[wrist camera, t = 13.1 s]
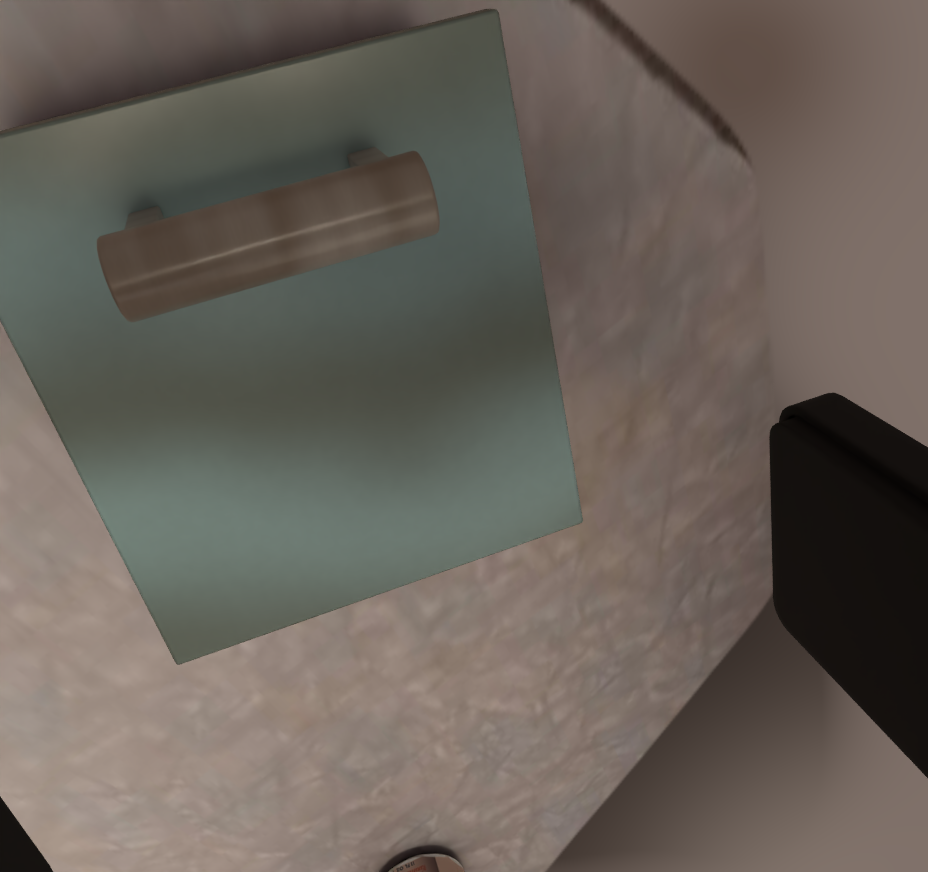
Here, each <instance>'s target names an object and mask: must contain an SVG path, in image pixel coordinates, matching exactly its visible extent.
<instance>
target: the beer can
mask: <svg viewBox="0 0 928 872" xmlns="http://www.w3.org/2000/svg"><path fill="white" fill-rule="evenodd" d="M388 872H464V869H463V867H462V865H461V864H460V863H459V862H458V861H457V860H456V859H454V858H452V857H450V856H448V855H444V854H437V853H436V854H421V855H417V856H413V857H410V858H408V859H406V860H404V861H402V862H401V863H399V864H398V865H396V866H394V867H393V868H392V869H390V870H389V871H388Z"/></svg>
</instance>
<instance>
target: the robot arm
mask: <svg viewBox="0 0 928 872" xmlns="http://www.w3.org/2000/svg"><path fill="white" fill-rule="evenodd" d="M770 480H771V523H772V566H773V599H774V606H775V609H776V612H777V614H778V617H779V619H780V620H781V622H782V624H783V625H784V627H785V628H786V629H787V630H788V631H789V632H790V633H791V635H792V636H793V637H794V638H795V639H796V640H797V641H798V642H799V643H800V644H801V645H802V646H803V647H804V648H805V649H806V650H807V651H808V653H809V654H810V655H811V656H812V657H813V658H814V659H815V660H816V661H817V662H818V663H819V664H820V665H821V666H822V667H823V668H824V669H825V670H826V671H827V672H828V674H829V675H830V676H831V677H832V678H833V679H834V680H835V681H836V682H837V683H838V684H839V685H840V686H841V687H842V688H843V689H844V690H845V691H846V692H847V694H848V695H849V696H850V697H851V698H852V699H853V700H854V701H855V702H856V703H857V704H858V705H859V706H860V707H861V708H862V709H863V710H864V711H865V713H866V714H867V715H868V716H869V717H870V718H871V719H872V720H873V721H874V722H875V723H876V724H877V725H878V726H879V727H880V728H881V729H882V730H883V731H884V733H886V734H887V736H888V737H890V739H891V740H892V741H893V742H894V743H895V744H896V745H897V746H898V747H899V748H900V749H901V750H902V752H904V754H905V755H906V756H907V757H908V758H909V759H910V760H911V761H912V762H913V763H914V764H915V765H916V766H917V767H918V768H919V769H920V770H921V771H922V773H923V774H924V775H925V776H926V777H927V778H928V447H926V446H924V445H923V444H921V443H920V442H918V441H916V440H915V439H913V438H911V437H910V436H908V435H906V434H905V433H903V432H901V431H900V430H898V429H896V428H895V427H893V426H891V425H890V424H888V423H886V422H885V421H883V420H881V419H880V418H878V417H876V416H875V415H873V414H871V413H870V412H868V411H866V410H865V409H863V408H861V407H860V406H858V405H856V404H855V403H853V402H852V401H850V400H848V399H847V398H845V397H843V396H841V395H839V394H836V393H827V394H824V395H821V396H818V397H815V398H812V399H809V400H806V401H803V402H800V403H797V404H794V405H791V406H788V407H787V408H785V409H784V410H783V411H782V413H781V416H780V419H779V423H777V424H775V425H773V426H772V428H771V430H770ZM0 872H53V871H52V869H51V867H50V865H49V864H48V862H47V861H46V860H45V858H44V857H43V855H42V854H41V853H40V851H39V850H38V849H37V847H36V846H35V844H34V843H33V842H32V840H31V839H30V837H29V836H28V835H27V833H26V832H25V830H24V829H23V828H22V826H21V825H20V823H19V822H18V821H17V819H16V818H15V816H14V815H13V814H12V812H11V811H10V809H9V808H8V807H7V805H6V804H5V802H4V801H3V800H2V798H1V797H0Z"/></svg>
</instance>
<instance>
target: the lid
mask: <svg viewBox="0 0 928 872" xmlns="http://www.w3.org/2000/svg"><path fill="white" fill-rule="evenodd" d="M0 321H1V323H2V325H3V327H4V329H5V331H6V333H7V335H8V337H9V339H10V341H11V343H12V344H13V346H14V348H15V350H16V352H17V354H18V356H19V358H20V360H21V362H22V364H23V366H24V368H25V370H26V372H27V374H28V376H29V378H30V380H31V382H32V384H33V385H34V387H35V389H36V391H37V393H38V395H39V397H40V399H41V401H42V403H43V405H44V407H45V409H46V411H47V413H48V415H49V417H50V419H51V421H52V423H53V424H54V426H55V428H56V430H57V432H58V434H59V436H60V438H61V440H62V442H63V444H64V446H65V448H66V450H67V452H68V454H69V456H70V458H71V460H72V462H73V464H74V465H75V467H76V469H77V471H78V473H79V475H80V477H81V479H82V481H83V483H84V485H85V487H86V489H87V491H88V493H89V495H90V497H91V499H92V501H93V503H94V505H95V506H96V508H97V510H98V512H99V514H100V516H101V518H102V520H103V522H104V524H105V526H106V528H107V530H108V532H109V534H110V536H111V538H112V540H113V542H114V544H115V545H116V547H117V549H118V551H119V553H120V555H121V557H122V559H123V561H124V563H125V565H126V567H127V569H128V571H129V573H130V575H131V577H132V579H133V581H134V583H135V585H136V586H137V588H138V590H139V592H140V594H141V596H142V598H143V600H144V602H145V604H146V606H147V608H148V610H149V612H150V614H151V616H152V618H153V620H154V622H155V624H156V626H157V627H158V629H159V631H160V633H161V635H162V637H163V639H164V641H165V643H166V645H167V647H168V649H169V651H170V653H171V655H172V657H173V659H174V661H175V663H176V664H177V665H180V664H182V663H185V662H188V661H191V660H194V659H197V658H199V657H202V656H205V655H208V654H211V653H214V652H216V651H219V650H222V649H225V648H228V647H231V646H234V645H236V644H239V643H242V642H245V641H248V640H251V639H253V638H256V637H259V636H262V635H265V634H268V633H270V632H273V631H276V630H279V629H282V628H285V627H287V626H290V625H293V624H296V623H299V622H302V621H304V620H307V619H310V618H313V617H316V616H319V615H321V614H324V613H327V612H330V611H333V610H336V609H338V608H341V607H344V606H347V605H350V604H353V603H356V602H358V601H361V600H364V599H367V598H370V597H373V596H375V595H378V594H381V593H384V592H387V591H390V590H392V589H395V588H398V587H401V586H404V585H407V584H409V583H412V582H415V581H418V580H421V579H424V578H426V577H429V576H432V575H435V574H438V573H441V572H443V571H446V570H449V569H452V568H455V567H458V566H461V565H463V564H466V563H469V562H472V561H475V560H478V559H480V558H483V557H486V556H489V555H492V554H495V553H497V552H500V551H503V550H506V549H509V548H512V547H514V546H517V545H520V544H523V543H526V542H529V541H531V540H534V539H537V538H540V537H543V536H546V535H548V534H551V533H554V532H557V531H560V530H563V529H565V528H568V527H571V526H574V525H577V524H580V523H582V522H583V518H582V512H581V506H580V500H579V494H578V488H577V481H576V475H575V469H574V463H573V457H572V451H571V445H570V439H569V433H568V427H567V421H566V415H565V409H564V403H563V397H562V391H561V385H560V379H559V373H558V367H557V361H556V355H555V349H554V343H553V337H552V331H551V325H550V319H549V313H548V307H547V301H546V295H545V289H544V283H543V277H542V271H541V265H540V259H539V253H538V247H537V241H536V235H535V229H534V223H533V217H532V211H531V205H530V199H529V193H528V187H527V181H526V175H525V169H524V163H523V157H522V151H521V145H520V138H519V132H518V126H517V120H516V114H515V108H514V102H513V96H512V90H511V84H510V78H509V72H508V66H507V60H506V54H505V48H504V42H503V36H502V30H501V24H500V18H499V13H498V11H497V10H495V9H484V10H480V11H476V12H472V13H468V14H464V15H460V16H456V17H452V18H448V19H444V20H440V21H436V22H432V23H428V24H424V25H420V26H416V27H412V28H408V29H404V30H400V31H396V32H392V33H388V34H384V35H380V36H376V37H372V38H368V39H364V40H360V41H356V42H353V43H349V44H345V45H341V46H337V47H333V48H329V49H325V50H321V51H317V52H313V53H309V54H305V55H301V56H297V57H293V58H289V59H285V60H281V61H277V62H273V63H269V64H265V65H261V66H257V67H253V68H249V69H245V70H241V71H237V72H233V73H229V74H225V75H221V76H217V77H213V78H209V79H205V80H201V81H197V82H193V83H189V84H185V85H181V86H177V87H173V88H170V89H166V90H162V91H158V92H154V93H150V94H146V95H142V96H138V97H134V98H130V99H126V100H122V101H118V102H114V103H110V104H106V105H102V106H98V107H94V108H90V109H86V110H82V111H78V112H74V113H70V114H66V115H62V116H58V117H54V118H50V119H46V120H42V121H38V122H34V123H30V124H26V125H22V126H18V127H14V128H10V129H6V130H2V131H0Z"/></svg>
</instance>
